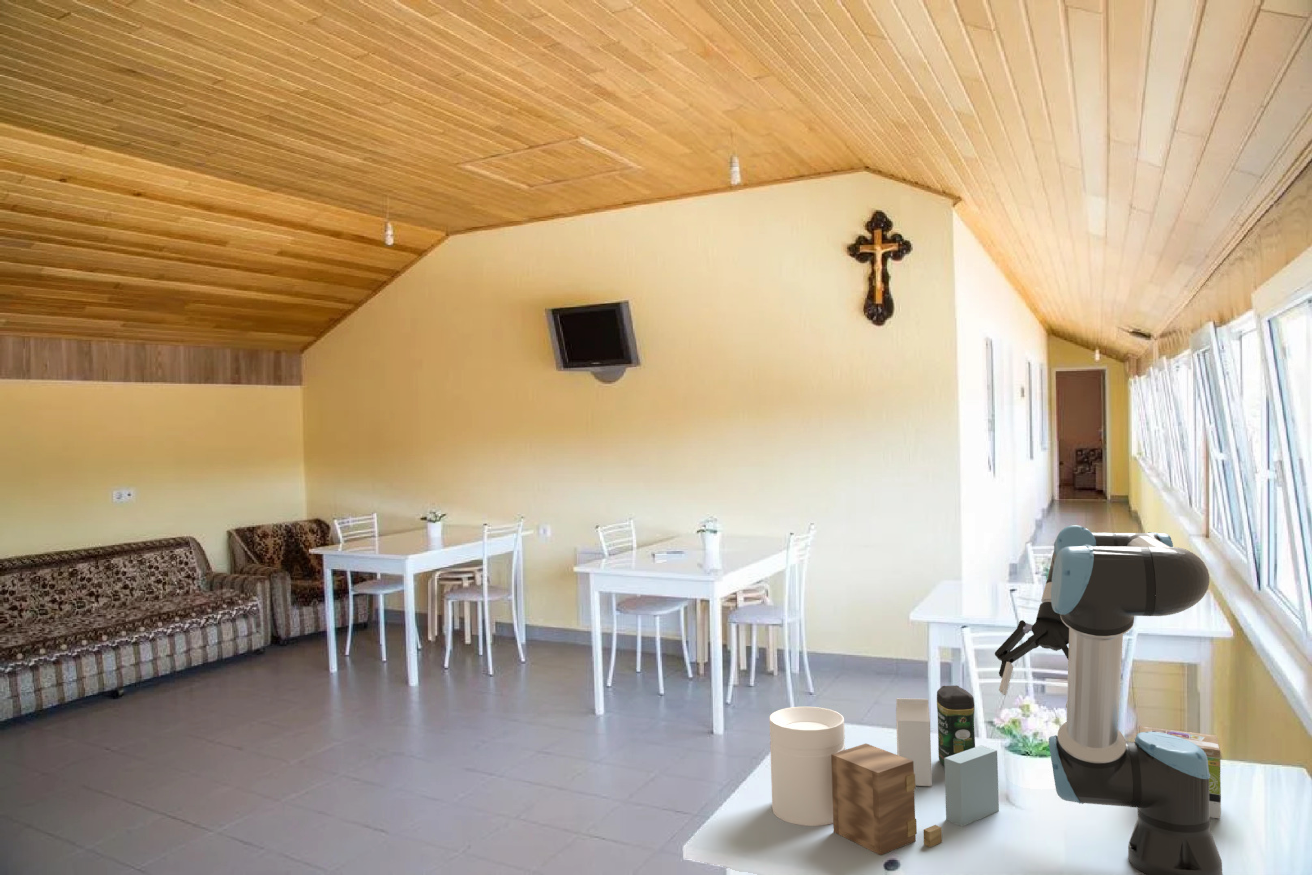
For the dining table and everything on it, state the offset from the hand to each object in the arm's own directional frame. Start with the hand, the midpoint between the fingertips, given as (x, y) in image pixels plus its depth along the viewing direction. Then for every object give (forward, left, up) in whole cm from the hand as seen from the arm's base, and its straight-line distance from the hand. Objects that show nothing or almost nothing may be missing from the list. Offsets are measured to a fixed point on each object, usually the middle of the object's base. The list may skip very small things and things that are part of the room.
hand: (1034, 701), depth 192 cm
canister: (+32, +35, -24) cm, 53 cm away
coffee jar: (+29, -10, -24) cm, 39 cm away
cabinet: (+13, +32, -24) cm, 42 cm away
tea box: (-14, -28, -25) cm, 40 cm away
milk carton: (+29, +5, -24) cm, 38 cm away
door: (+9, +10, -24) cm, 28 cm away
